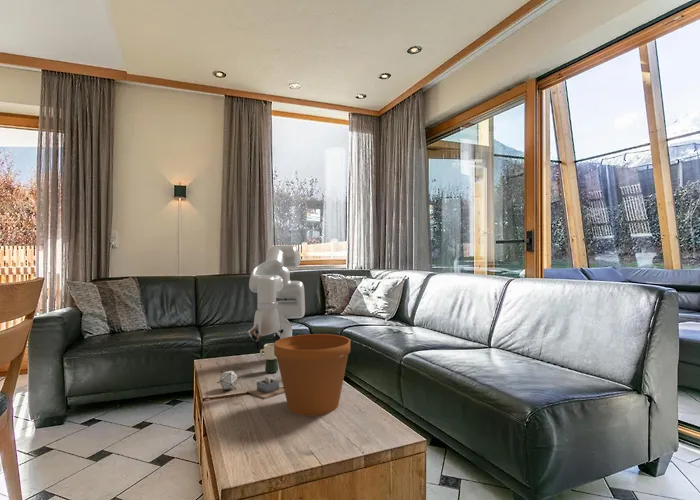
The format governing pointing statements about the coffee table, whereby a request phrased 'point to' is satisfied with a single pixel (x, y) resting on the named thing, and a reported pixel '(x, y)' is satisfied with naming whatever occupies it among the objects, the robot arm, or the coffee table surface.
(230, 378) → the game die
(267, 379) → the tan piece
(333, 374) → the flowerpot
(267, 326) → the robot arm
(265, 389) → the link
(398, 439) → the coffee table surface
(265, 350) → the character mug
